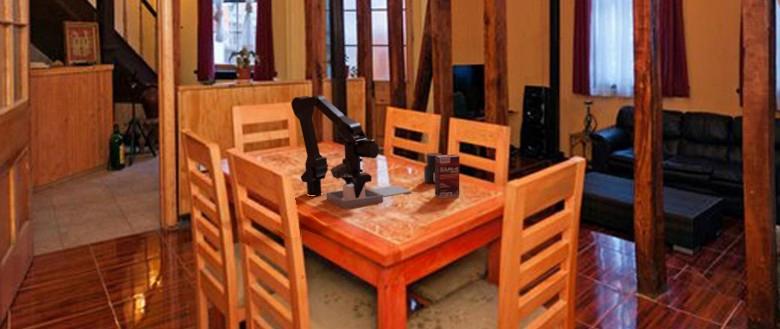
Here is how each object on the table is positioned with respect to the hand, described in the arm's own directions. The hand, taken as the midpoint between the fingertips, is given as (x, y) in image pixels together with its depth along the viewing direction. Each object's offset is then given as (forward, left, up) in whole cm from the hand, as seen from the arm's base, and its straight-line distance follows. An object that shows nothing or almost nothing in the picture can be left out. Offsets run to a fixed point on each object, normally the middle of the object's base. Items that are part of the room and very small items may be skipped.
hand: (354, 196), depth 209 cm
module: (0, 0, -1) cm, 1 cm away
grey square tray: (0, 0, -2) cm, 2 cm away
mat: (-4, +18, -2) cm, 19 cm away
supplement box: (+14, +33, -2) cm, 36 cm away
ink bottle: (-8, +42, -2) cm, 43 cm away
